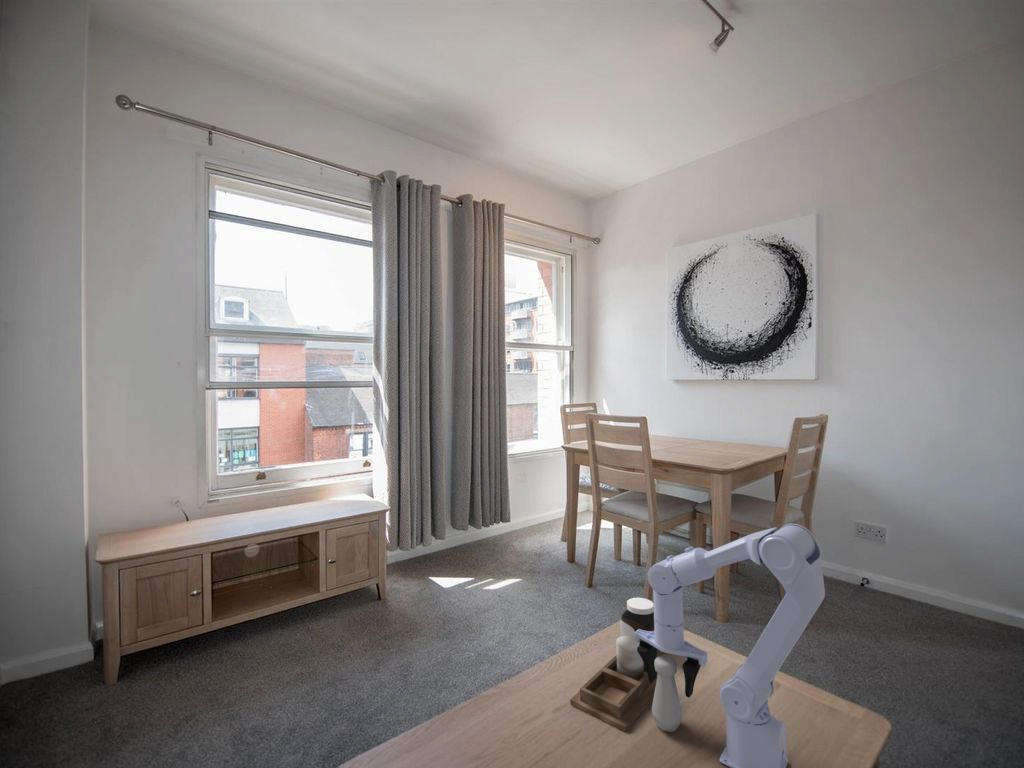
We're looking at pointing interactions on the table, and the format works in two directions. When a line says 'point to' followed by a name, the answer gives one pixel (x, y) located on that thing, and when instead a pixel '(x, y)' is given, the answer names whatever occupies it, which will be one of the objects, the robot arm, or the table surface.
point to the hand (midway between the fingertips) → (670, 687)
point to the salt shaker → (666, 695)
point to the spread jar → (637, 616)
